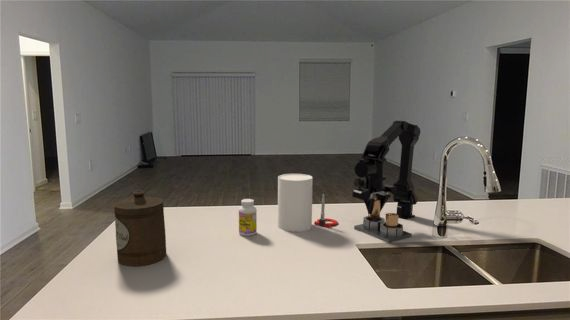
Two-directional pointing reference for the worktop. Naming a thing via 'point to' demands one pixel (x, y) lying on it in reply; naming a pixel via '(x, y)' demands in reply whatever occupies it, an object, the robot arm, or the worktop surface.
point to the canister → (295, 202)
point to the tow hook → (322, 221)
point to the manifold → (384, 228)
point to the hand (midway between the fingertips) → (374, 213)
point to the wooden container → (140, 230)
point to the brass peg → (375, 209)
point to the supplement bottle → (247, 218)
